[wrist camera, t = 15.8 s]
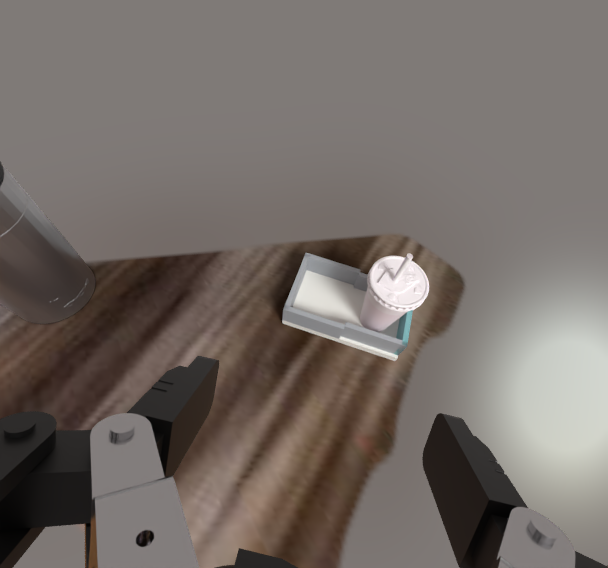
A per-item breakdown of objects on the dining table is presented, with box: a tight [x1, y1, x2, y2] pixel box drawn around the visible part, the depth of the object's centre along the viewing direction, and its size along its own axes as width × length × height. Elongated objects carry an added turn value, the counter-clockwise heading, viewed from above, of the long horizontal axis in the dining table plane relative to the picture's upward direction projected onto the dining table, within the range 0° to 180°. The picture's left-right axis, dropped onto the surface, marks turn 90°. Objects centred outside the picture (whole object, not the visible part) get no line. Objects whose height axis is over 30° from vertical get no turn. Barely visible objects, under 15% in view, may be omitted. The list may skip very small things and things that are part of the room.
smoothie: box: [360, 254, 429, 332], centre depth 36 cm, size 6×6×14 cm
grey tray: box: [282, 253, 413, 361], centre depth 42 cm, size 15×9×4 cm, turn 72°
